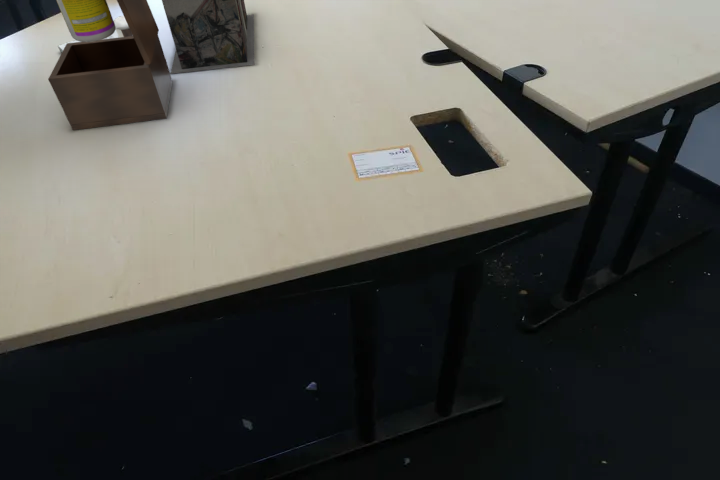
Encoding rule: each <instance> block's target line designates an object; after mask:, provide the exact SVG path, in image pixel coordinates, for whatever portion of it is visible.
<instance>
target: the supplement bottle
mask: <svg viewBox="0 0 720 480" xmlns="http://www.w3.org/2000/svg"><path fill="white" fill-rule="evenodd" d="M55 1H56V3H57V5H58V8H59V10H60V13H61V15H62V17H63V20H64V23H65V25H66V27H67V29H68V32H69V33H70V36H71V37H72V39H74V41H75V40H77V41H80V42H94V41H98V40H102V39H105V38H107V37H109V36H111V35H112V34H113V33H114V32H115V29H116V27H115V24H114V18H113V16H112V13H111V10H110V7H109V5H108V2H107V0H55Z"/></svg>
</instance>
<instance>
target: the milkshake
mask: <svg viewBox="0 0 720 480" xmlns="http://www.w3.org/2000/svg"><path fill="white" fill-rule="evenodd" d="M113 21H114V24H115V27H116V29H115V32H116V34H117V36H118V38H120V37H129V36H133V35H132V33H131V31H130V28H129V26H128V24H127V22H126V20H125V17H124V15H119V16H118V17H116V18H114V19H113Z"/></svg>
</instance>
